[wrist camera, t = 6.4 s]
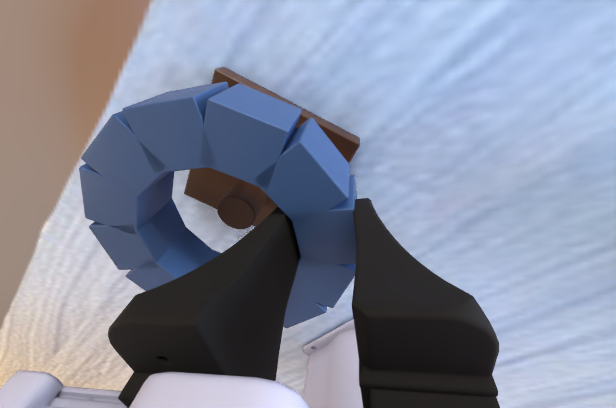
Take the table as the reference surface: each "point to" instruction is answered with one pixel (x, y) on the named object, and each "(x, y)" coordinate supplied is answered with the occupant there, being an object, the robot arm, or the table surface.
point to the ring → (232, 161)
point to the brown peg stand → (242, 195)
